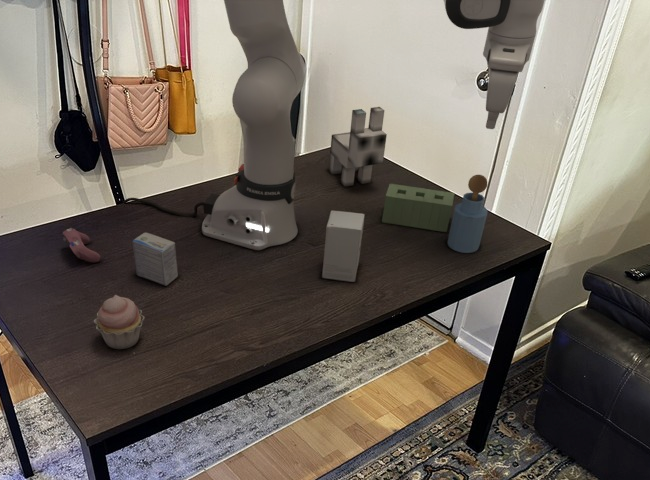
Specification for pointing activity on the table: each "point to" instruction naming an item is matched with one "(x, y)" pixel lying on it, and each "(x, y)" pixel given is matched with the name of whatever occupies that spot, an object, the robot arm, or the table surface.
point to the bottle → (467, 224)
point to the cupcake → (119, 322)
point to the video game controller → (80, 245)
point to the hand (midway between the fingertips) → (490, 119)
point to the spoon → (477, 185)
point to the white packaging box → (342, 245)
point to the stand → (417, 207)
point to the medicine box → (155, 258)
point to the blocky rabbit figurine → (358, 147)
